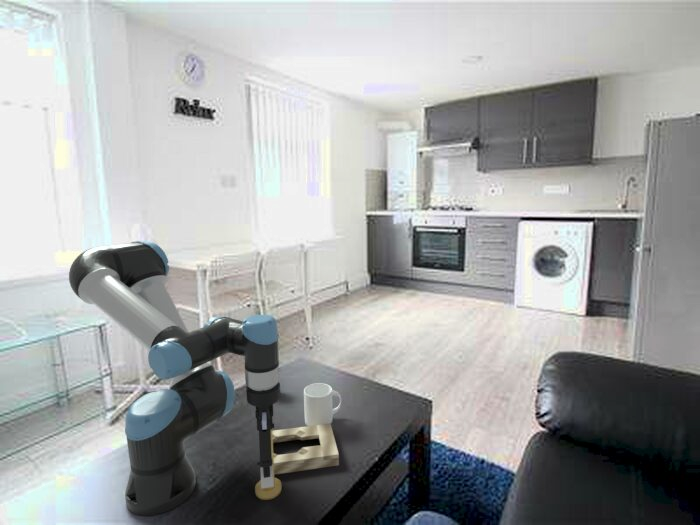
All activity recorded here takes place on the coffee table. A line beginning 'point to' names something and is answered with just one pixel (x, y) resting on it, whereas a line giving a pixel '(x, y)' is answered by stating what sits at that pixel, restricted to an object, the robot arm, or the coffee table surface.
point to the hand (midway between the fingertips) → (267, 469)
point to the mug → (319, 404)
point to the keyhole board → (306, 449)
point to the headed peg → (272, 491)
